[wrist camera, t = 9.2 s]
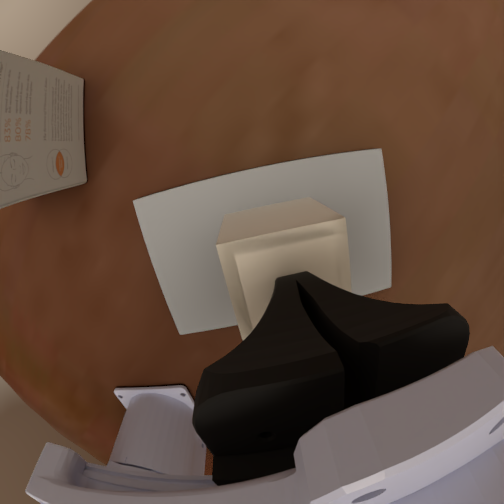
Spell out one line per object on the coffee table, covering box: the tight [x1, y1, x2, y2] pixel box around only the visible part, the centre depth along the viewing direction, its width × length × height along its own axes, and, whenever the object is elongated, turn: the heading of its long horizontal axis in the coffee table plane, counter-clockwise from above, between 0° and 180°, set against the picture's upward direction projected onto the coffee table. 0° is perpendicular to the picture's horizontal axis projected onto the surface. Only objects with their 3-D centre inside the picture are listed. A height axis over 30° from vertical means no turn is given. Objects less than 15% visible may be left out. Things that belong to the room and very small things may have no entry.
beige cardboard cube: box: [216, 197, 352, 341], centre depth 14 cm, size 5×5×6 cm
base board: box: [133, 149, 391, 335], centre depth 17 cm, size 10×16×1 cm, turn 102°
